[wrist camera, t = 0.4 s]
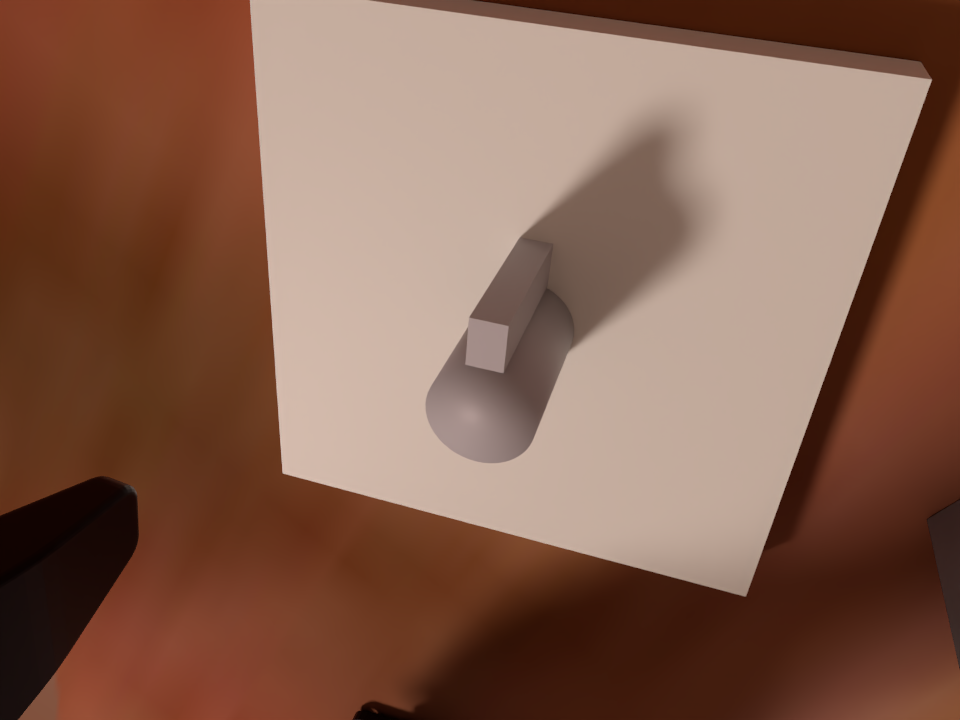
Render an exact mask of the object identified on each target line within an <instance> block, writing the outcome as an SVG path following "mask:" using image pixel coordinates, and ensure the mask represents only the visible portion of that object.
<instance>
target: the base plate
mask: <svg viewBox="0 0 960 720" xmlns="http://www.w3.org/2000/svg"><path fill="white" fill-rule="evenodd" d="M250 9H251V24H252V38H253V53H254V67H255V81H256V96H257V110H258V125H259V139H260V153H261V168H262V182H263V197H264V211H265V226H266V240H267V254H268V269H269V283H270V298H271V312H272V327H273V341H274V355H275V370H276V384H277V399H278V413H279V427H280V442H281V456H282V471H283V474H287V475H291V476H295V477H298V478H302V479H306V480H310V481H313V482H317V483H321V484H325V485H328V486H332V487H336V488H340V489H343V490H347V491H351V492H355V493H358V494H362V495H366V496H370V497H373V498H377V499H381V500H385V501H388V502H392V503H396V504H400V505H403V506H407V507H411V508H415V509H418V510H422V511H426V512H430V513H433V514H437V515H441V516H445V517H448V518H452V519H456V520H460V521H463V522H467V523H471V524H475V525H478V526H482V527H486V528H490V529H493V530H497V531H501V532H505V533H508V534H512V535H516V536H520V537H523V538H527V539H531V540H535V541H538V542H542V543H546V544H550V545H553V546H557V547H561V548H565V549H568V550H572V551H576V552H580V553H583V554H587V555H591V556H595V557H598V558H602V559H606V560H610V561H613V562H617V563H621V564H625V565H628V566H632V567H636V568H640V569H643V570H647V571H651V572H655V573H658V574H662V575H666V576H670V577H673V578H677V579H681V580H685V581H688V582H692V583H696V584H700V585H703V586H707V587H711V588H715V589H718V590H722V591H726V592H730V593H733V594H737V595H741V596H745V597H746V595H747V592H748V589H749V587H750V584H751V581H752V578H753V576H754V573H755V570H756V567H757V564H758V562H759V559H760V556H761V553H762V551H763V548H764V545H765V542H766V539H767V537H768V534H769V531H770V528H771V526H772V523H773V520H774V517H775V514H776V512H777V509H778V506H779V503H780V501H781V498H782V495H783V492H784V489H785V487H786V484H787V481H788V478H789V476H790V473H791V470H792V467H793V464H794V462H795V459H796V456H797V453H798V451H799V448H800V445H801V442H802V439H803V437H804V434H805V431H806V428H807V426H808V423H809V420H810V417H811V414H812V412H813V409H814V406H815V403H816V401H817V398H818V395H819V392H820V389H821V387H822V384H823V381H824V378H825V376H826V373H827V370H828V367H829V364H830V362H831V359H832V356H833V353H834V351H835V348H836V345H837V342H838V339H839V337H840V334H841V331H842V328H843V326H844V323H845V320H846V317H847V314H848V312H849V309H850V306H851V303H852V301H853V298H854V295H855V292H856V289H857V287H858V284H859V281H860V278H861V276H862V273H863V270H864V267H865V264H866V262H867V259H868V256H869V253H870V251H871V248H872V245H873V242H874V239H875V237H876V234H877V231H878V228H879V226H880V223H881V220H882V217H883V214H884V212H885V209H886V206H887V203H888V201H889V198H890V195H891V192H892V189H893V187H894V184H895V181H896V178H897V176H898V173H899V170H900V167H901V164H902V162H903V159H904V156H905V153H906V151H907V148H908V145H909V142H910V139H911V137H912V134H913V131H914V128H915V126H916V123H917V120H918V117H919V114H920V112H921V109H922V106H923V103H924V101H925V98H926V95H927V92H928V89H929V87H930V84H931V81H932V79H931V77H930V76H929V74H928V72H927V71H926V69H925V68H924V66H923V64H922V63H921V62H919V61H912V60H905V59H897V58H890V57H883V56H875V55H868V54H861V53H854V52H846V51H839V50H832V49H824V48H817V47H810V46H802V45H795V44H788V43H781V42H773V41H766V40H759V39H751V38H744V37H737V36H730V35H722V34H715V33H708V32H700V31H693V30H686V29H679V28H671V27H664V26H657V25H649V24H642V23H635V22H627V21H620V20H613V19H606V18H598V17H591V16H584V15H576V14H569V13H562V12H555V11H547V10H540V9H533V8H525V7H518V6H511V5H504V4H496V3H489V2H482V1H474V0H250Z"/></svg>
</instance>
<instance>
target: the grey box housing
mask: <svg viewBox="0 0 960 720" xmlns="http://www.w3.org/2000/svg"><path fill="white" fill-rule="evenodd" d="M927 522H928V527H929V532H930V536H931V541H932V545H933V550H934V554H935V559H936V563H937V568H938V573H939V577H940V582H941V586H942V591H943V595H944V600H945V604H946V609H947V613H948V618H949V623H950V627H951V632H952V636H953V641H954V645H955V650H956V654H957V659H958V664H959V668H960V500H958V501H957V502H955V503H953V504H952V505H950V506H948V507H947V508H945V509H943V510H942V511H940V512H938V513H937V514H935V515H933V516H932V517H930V518H928V519H927Z"/></svg>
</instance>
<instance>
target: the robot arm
mask: <svg viewBox="0 0 960 720" xmlns="http://www.w3.org/2000/svg"><path fill="white" fill-rule="evenodd" d="M138 536H139V530H138V503H137V493H136V491H135V489H134V488H133V487H132V486H130V485H128V484H125V483H123V482H120V481H117V480H115V479H112V478H110V477H105V476H100V477H95V478H92V479H89V480H87V481H85V482H82V483H80V484H77V485H75V486H72V487H70V488H67V489H65V490H62V491H60V492H57V493H55V494H53V495H50V496H48V497H45V498H43V499H40V500H38V501H35V502H33V503H30V504H28V505H26V506H23V507H21V508H18V509H16V510H13V511H11V512H8V513H6V514H3V515H1V516H0V720H18V719H19V718H20V716H21V715H22V714H23V713H24V711H25V710H26V709H27V708H28V706H29V705H30V704H31V703H32V701H33V700H34V699H35V698H36V697H37V695H38V694H39V693H40V691H41V690H42V689H43V688H44V687H45V685H46V684H47V683H48V681H49V680H50V679H51V677H52V676H53V675H54V674H55V672H56V671H57V670H58V668H59V667H60V665H61V664H62V662H63V661H64V659H65V658H66V656H67V655H68V654H69V652H70V651H71V649H72V647H73V646H74V644H75V643H76V641H77V640H78V638H79V637H80V635H81V634H82V632H83V631H84V629H85V628H86V626H87V624H88V623H89V621H90V620H91V618H92V617H93V615H94V614H95V612H96V611H97V609H98V608H99V606H100V604H101V603H102V601H103V600H104V598H105V597H106V595H107V594H108V592H109V591H110V589H111V588H112V586H113V585H114V583H115V581H116V580H117V578H118V577H119V575H120V574H121V572H122V571H123V569H124V568H125V566H126V565H127V563H128V561H129V560H130V558H131V557H132V555H133V553H134V551H135V549H136V546H137V542H138ZM353 720H392V719H389V718H386V717H382V716H379V715H376V714H373V713H370V712H367V711H358V712H356V714H355V716H354V718H353Z"/></svg>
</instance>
